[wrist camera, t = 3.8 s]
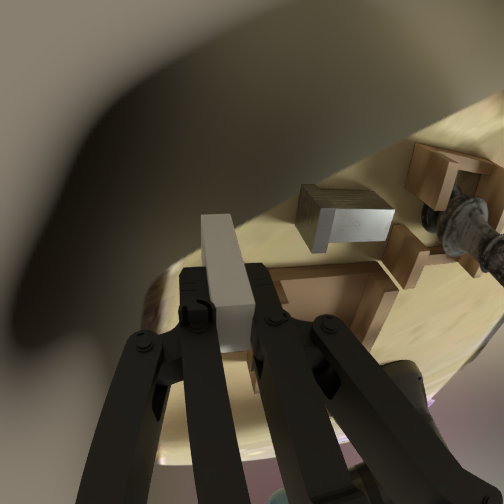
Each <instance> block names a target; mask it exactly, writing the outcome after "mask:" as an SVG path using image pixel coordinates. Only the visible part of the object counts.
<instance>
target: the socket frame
mask: <svg viewBox="0 0 504 504" xmlns="http://www.w3.org/2000/svg"><path fill="white" fill-rule="evenodd" d="M458 169H459V170H464V171H469V172H474V173H479V174H481V177H480V180H479V183H478V186H477V190H476V193H475V196H474V197H480V198H482V199H483V200H484V201H485V202H486V204H487V208H488V219H487V223H488V224H489V225H490V226H491V227H492V228H493V229H494V230H496V231H497V232H498V233H499V234H500V233H501V231H502V228H503V226H504V168H502V167H500V166H499V165H497V164H495V163H494V162H492V161H489V160H485V159H481V158H478V157H474V156H470V155H466V154H462V153H458V152H454V151H450V150H446V149H441V148H437V147H432V146H427V145H422V144H417V143H415V148H414V152H413V156H412V160H411V164H410V168H409V172H408V176H407V180H406V184H405V188H407V189H408V190H409V191H410V192H412V193H413V194H414V195H416V196H417V197H418V198H419V199H421V200H422V201H423V202H424V203H426V204H427V205H428V206H429V207H431V208H432V209H433V210H434V211H445V210H446V208H447V205H448V202H449V199H450V195H451V192H452V189H453V186H454V183H455V179H456V176H457V172H458ZM382 262H383V264H384V265H385V266H386V267H387V269H388V270H389V271H390V272H391V274H392V275H393V276H394V278H395V279H396V280H397V281H398V283H399V284H400V285H401V287H402V288H403V289H404V290H406V289H412V288H415V286H416V283H417V281H418V279H419V277H420V275H421V272H422V270H423V268H424V266H426V265H435V264H445V263H454V262H458V263H459V264H460V265H461V266H462V267H463V268H464V269H465V270H466V271H467V272H468V273H469V274H470V275H471V276H472V277H473V278H479V277H480V276H481V274H482V271H481V269H480V264H479V263H478V262H477V261H476V260H475V259H474V258H473V257H472V256H471V255H470V254H468V253H467V252H466V253H465V254H463V255H461V256H456V257H451V256H448V255H447V254H446V253H445V252H444V250H443V248H442V247H431V248H427V247H426V246H425V245H424V244H423V243H422V242H421V241H420V240H419V239H418V238H417V237H416V236H415V235H414V234H413V233H412V232H411V231H410V230H409V229H408V228H407V227H406V226H405V225H393V228H392V231H391V235H390V238H389V241H388V244H387V247H386V250H385V253H384V255H383V258H382Z"/></svg>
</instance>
